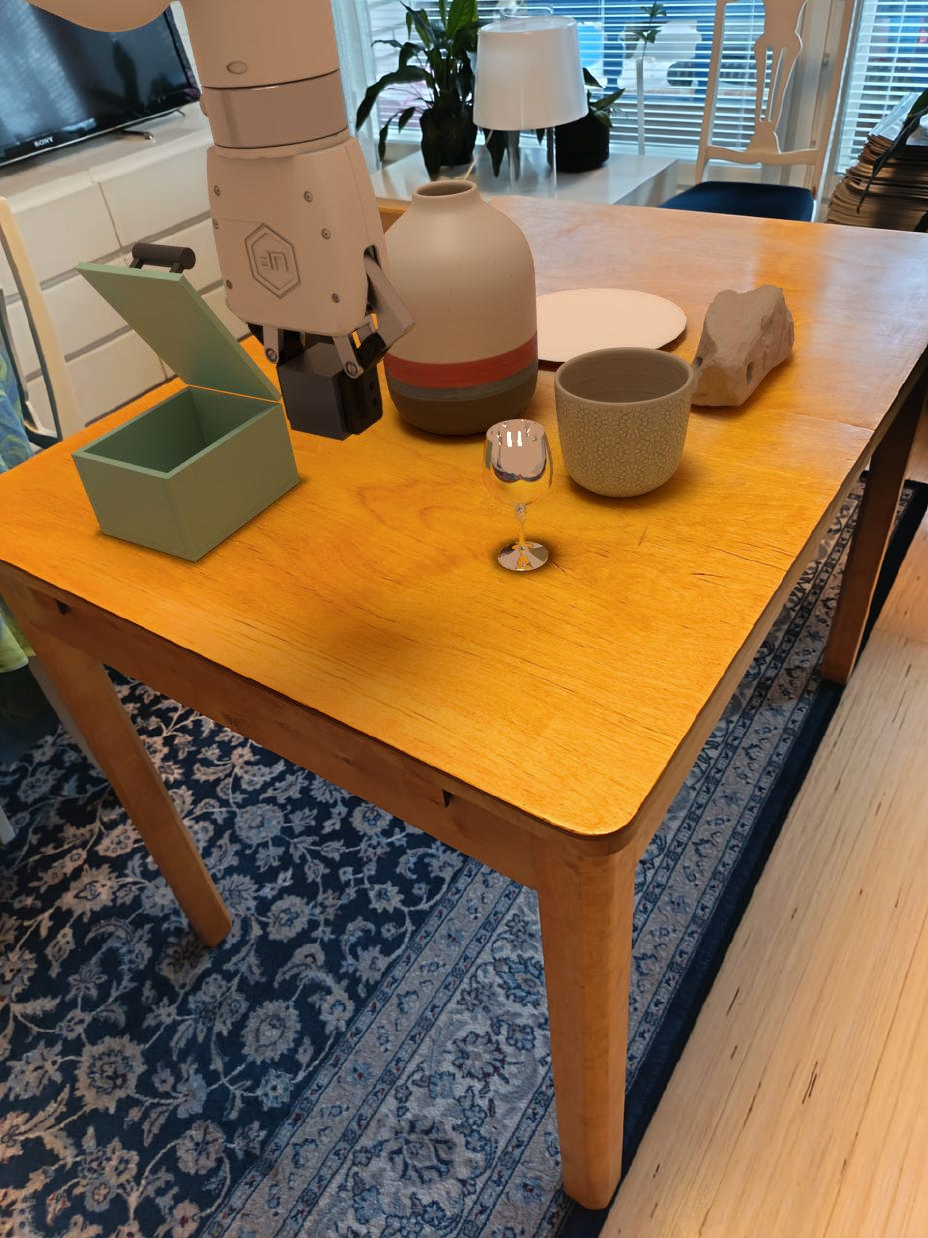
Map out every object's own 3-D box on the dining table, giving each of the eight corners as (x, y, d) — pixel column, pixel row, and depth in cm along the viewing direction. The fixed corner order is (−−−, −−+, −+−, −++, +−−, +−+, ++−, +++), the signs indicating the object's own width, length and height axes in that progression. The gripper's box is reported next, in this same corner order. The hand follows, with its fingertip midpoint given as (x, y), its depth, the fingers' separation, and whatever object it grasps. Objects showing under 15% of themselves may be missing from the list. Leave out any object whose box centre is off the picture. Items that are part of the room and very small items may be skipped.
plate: (728, 328, 115) (729, 315, 114) (582, 392, 104) (582, 378, 103) (591, 286, 131) (591, 274, 130) (453, 338, 120) (452, 325, 119)
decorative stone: (733, 427, 94) (743, 334, 88) (666, 413, 98) (671, 323, 92) (799, 354, 107) (812, 268, 100) (738, 345, 110) (746, 261, 104)
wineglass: (569, 552, 79) (566, 427, 72) (527, 583, 76) (519, 456, 69) (519, 531, 83) (511, 409, 75) (476, 560, 80) (464, 437, 72)
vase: (561, 387, 106) (555, 166, 91) (506, 455, 94) (490, 214, 79) (431, 374, 112) (406, 165, 97) (365, 436, 100) (325, 210, 85)
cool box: (195, 562, 83) (167, 478, 78) (102, 533, 89) (70, 453, 84) (300, 482, 94) (281, 403, 88) (210, 460, 99) (188, 385, 94)
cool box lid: (177, 280, 74) (206, 233, 75) (74, 268, 79) (103, 224, 81) (279, 402, 88) (301, 360, 89) (185, 384, 93) (207, 345, 95)
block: (342, 441, 59) (330, 377, 56) (291, 429, 61) (277, 367, 58) (381, 412, 62) (372, 350, 59) (331, 402, 64) (319, 342, 61)
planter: (531, 479, 90) (526, 375, 83) (623, 436, 95) (625, 335, 88) (618, 528, 81) (620, 417, 75) (713, 479, 87) (723, 371, 80)
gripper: (122, 126, 51) (206, 422, 62) (360, 133, 44) (407, 468, 55) (214, 100, 56) (277, 379, 67) (443, 102, 48) (471, 416, 60)
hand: (335, 416), depth 61 cm, fingers closed on block, 4 cm apart
